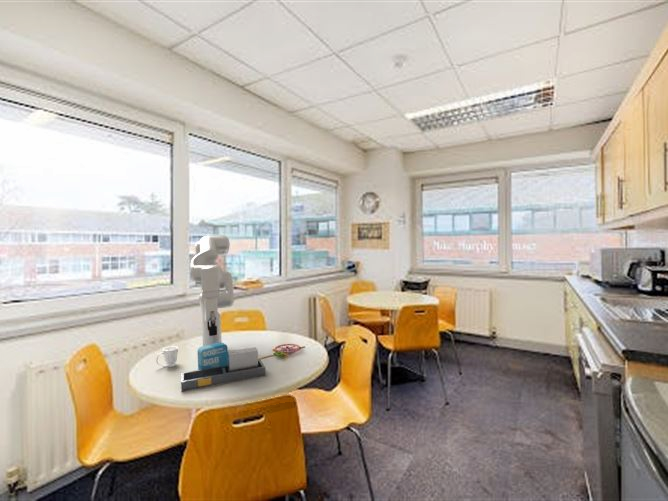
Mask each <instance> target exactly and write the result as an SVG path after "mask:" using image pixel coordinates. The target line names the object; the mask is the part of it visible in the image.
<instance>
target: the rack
mask: <svg viewBox="0 0 668 501" xmlns="http://www.w3.org/2000/svg"><path fill="white" fill-rule="evenodd" d="M258 359H259V350H258V348H257V347H256V346H253V347H249V348H248V347H246V348H240V349H234V350H228V365H226V366H220V367H214V368H208V369H202V370H198V369H197V370H191V371H185V372H181V373H180V382H181V383H180V384H181V385H180V386H181V388H180V389H181V392H188V391H192V390H193V391H194V390H198V389H203V388H209V387H214V386H219V385H225V384H231V383H236V382H240V381H246V380H253V379H257V378H262V377H266V375H267V373H266V366H265V364H264V363H263V362H262V359H260V360H258Z"/></svg>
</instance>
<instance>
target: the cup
mask: <svg viewBox="0 0 668 501" xmlns="http://www.w3.org/2000/svg"><path fill="white" fill-rule="evenodd" d="M178 352H179V346H176V345H172V346H170V345H169V346H166V347H164V348H162V352H159V353H158V354H157V355H156V358H155V362H156V364H157V365H159V366H161V367H164V368H167V367H168V368H171V367H175V366H176V365H177V360H178V354H179V353H178ZM160 355H163V358H164V362H165V364H166V365H162V364H160V363H158V359H159V356H160Z"/></svg>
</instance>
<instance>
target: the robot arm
mask: <svg viewBox="0 0 668 501" xmlns="http://www.w3.org/2000/svg"><path fill="white" fill-rule="evenodd" d="M230 246H231V245H230V239H229V237H227V235H224V234H223V235H222V234H220V235H218V234H217V235H216V234H215V235H212V234H211V235H205V236H203V237H201V239H200V240H199V241H197V242H196V243H195V246H194V247H195V248H194V249H195V256H194V257H193V258H192V259H191V260H190V261H191V262H190V264H189V265H190V266H189V277H190V280H191V281H193V282H196V283H198V282H199V283H201V293H200V294H199V298H198V301H199V306H200V307H199V308H200V310H201V313H200V314H201V328H202V329H201V330H202V346H207V345H211V344H215V343H220V342H222V320H221V319H222V318H221V314H220V313H219V312H218V311H219V310H218V309H223V308H230V307H233V305H234V303H235V292H234V283H233V275H232V273H231V272H230V271H226V270H225V271H224V269H223V267H222V266H221V265H220V264H218V263H217V260H218V258H219V256H225V255H228V253H229V250H230ZM222 343H223V342H222Z"/></svg>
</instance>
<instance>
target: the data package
mask: <svg viewBox="0 0 668 501" xmlns="http://www.w3.org/2000/svg"><path fill="white" fill-rule="evenodd" d="M228 348H229V347H228V345H227V344H225V343H224V342H220V343H215V344H211V345H207V346H203V345H202V346H200V347H198V348H197V370H202V369H208V368H214V367H220V366H226V365H228V351H229V349H228Z"/></svg>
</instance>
